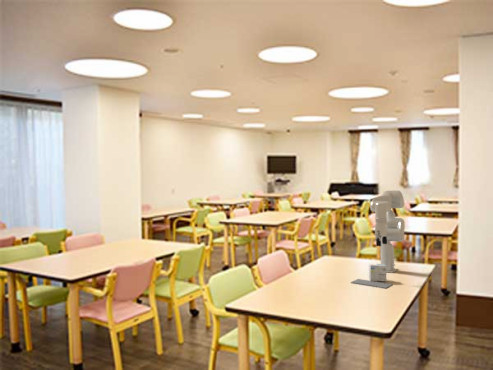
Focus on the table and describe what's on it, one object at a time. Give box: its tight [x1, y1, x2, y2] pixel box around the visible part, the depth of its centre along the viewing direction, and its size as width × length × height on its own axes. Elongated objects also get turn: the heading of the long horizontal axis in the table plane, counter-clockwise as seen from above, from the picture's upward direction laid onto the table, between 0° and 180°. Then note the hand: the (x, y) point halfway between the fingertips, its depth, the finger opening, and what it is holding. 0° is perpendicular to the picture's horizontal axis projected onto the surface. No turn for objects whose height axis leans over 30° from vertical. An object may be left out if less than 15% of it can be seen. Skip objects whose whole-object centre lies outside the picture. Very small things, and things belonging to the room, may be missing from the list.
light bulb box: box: [368, 263, 387, 282], centre depth 282 cm, size 11×7×11 cm, turn 84°
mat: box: [350, 278, 393, 290], centre depth 275 cm, size 10×24×1 cm, turn 49°
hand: (381, 244), depth 289 cm, fingers open, 9 cm apart
